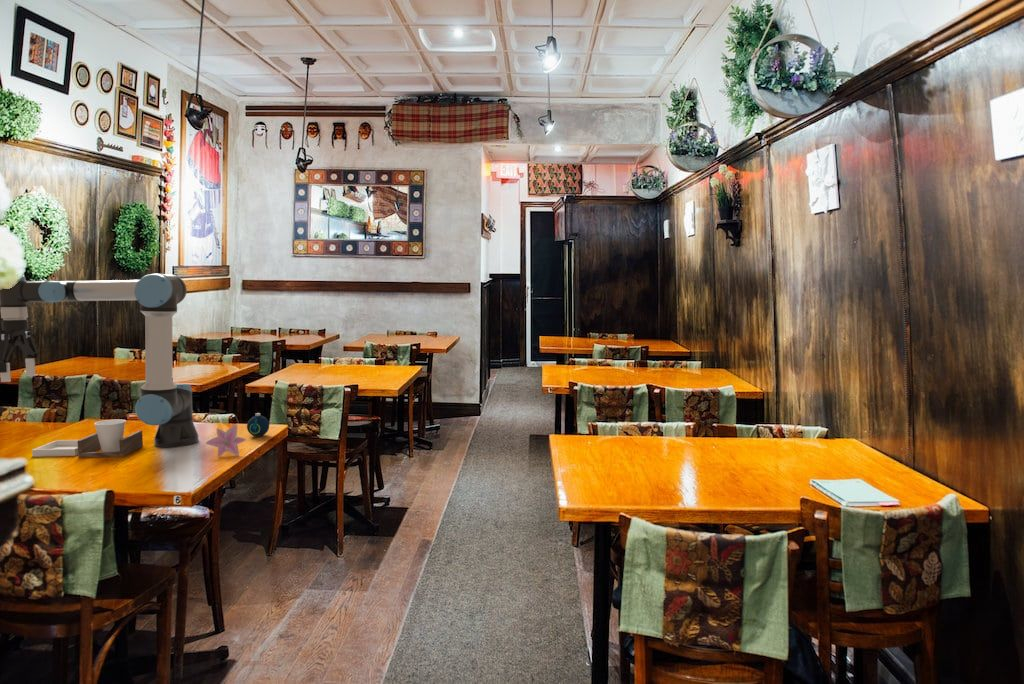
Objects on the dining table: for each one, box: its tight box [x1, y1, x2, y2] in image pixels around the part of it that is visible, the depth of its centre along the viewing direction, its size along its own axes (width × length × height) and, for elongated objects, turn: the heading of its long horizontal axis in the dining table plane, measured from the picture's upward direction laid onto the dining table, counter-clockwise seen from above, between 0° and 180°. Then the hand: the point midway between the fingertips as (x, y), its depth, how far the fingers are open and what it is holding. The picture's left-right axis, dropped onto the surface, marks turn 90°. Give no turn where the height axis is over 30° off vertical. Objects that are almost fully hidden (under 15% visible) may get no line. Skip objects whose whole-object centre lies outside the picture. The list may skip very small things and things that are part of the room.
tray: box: [31, 439, 79, 457], centre depth 238 cm, size 14×14×2 cm
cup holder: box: [77, 430, 144, 458], centre depth 237 cm, size 15×15×6 cm
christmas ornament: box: [246, 412, 270, 437], centre depth 262 cm, size 8×8×10 cm
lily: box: [205, 424, 247, 458], centre depth 236 cm, size 12×12×10 cm
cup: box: [93, 418, 127, 452], centre depth 237 cm, size 10×10×11 cm
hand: (18, 379), depth 231 cm, fingers open, 13 cm apart
